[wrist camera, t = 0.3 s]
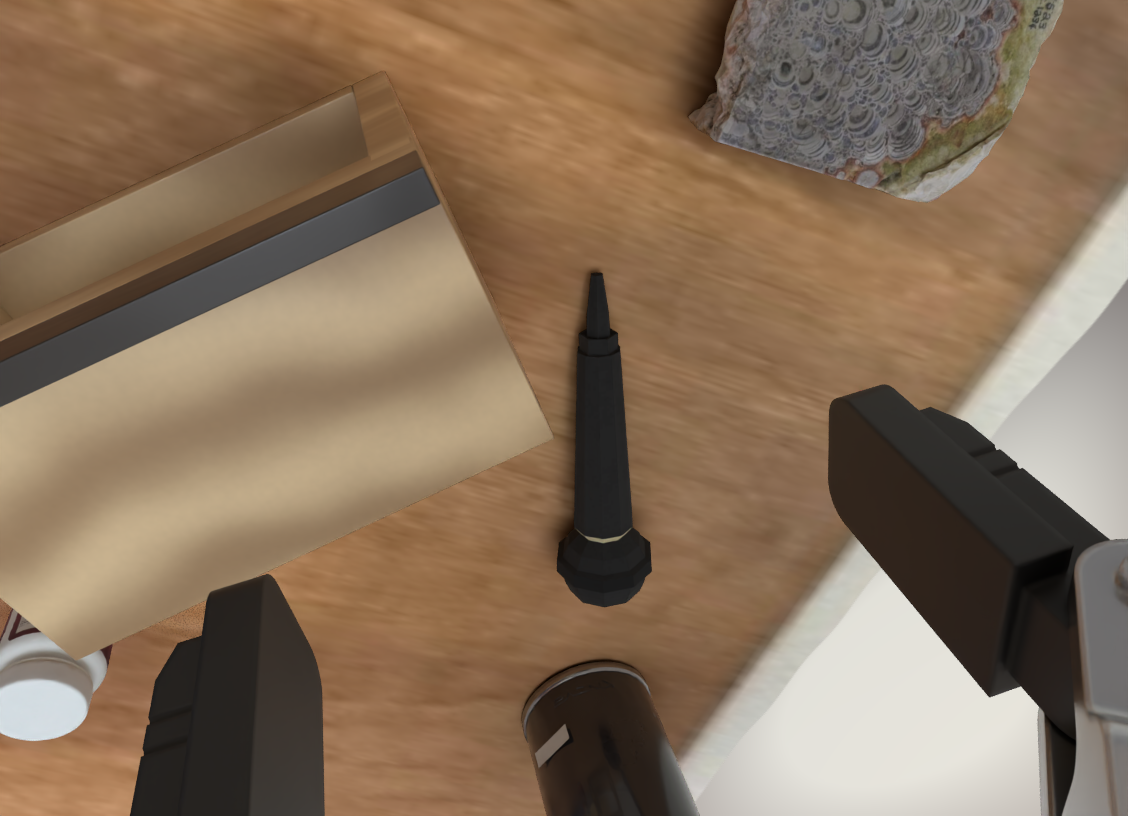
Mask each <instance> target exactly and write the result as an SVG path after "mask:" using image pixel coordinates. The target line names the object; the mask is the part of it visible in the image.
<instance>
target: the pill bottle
mask: <svg viewBox="0 0 1128 816" xmlns="http://www.w3.org/2000/svg"><path fill="white" fill-rule="evenodd" d="M112 645H113V644H111V645H109V646H107V647H105V648H103V649H100V650H98V651H96V652H94V653H92V654H90V655H88V656H85V657H83V658H81V659H79V660H74V659H73V658H72V657H71V656H70V655H68V654H67V653H66V652H65V651H64V650H62V649H61V648H60V647H59V646H58V645H56V644H55V643H54V642H53V641H52V640H50V639H49V638H48V637H47V636H46V635H44V634H43V633H42V632H41V631H39V630H38V629H37V628H36V627H35V626H33V625H32V624H31V623H30V622H29V621H27V620H26V619H25V618H24V617H23V616H21V615H20V614H19V613H18V612H17V611H15V610H14V609H13V608H12V610H11V612H10V615H9V617H8V620H7V622H6V625H5V628H4V630H3V633H2V635H1V638H0V733H2V734H4V735H6V736H9V737H12V738H16V739H21V740H28V741H38V740H48V739H53V738H57V737H60V736H63V735H65V734H67V733H69V732H71V731H73V730H74V729H76V728H77V727H78V726H79V725H80V724H81V723H82V722H83V721H84V719H85V717H86V715H87V713H88V709H89V705H90V702H91V699H92V695H93V692H94V691H96V689H97V688H98V687H99V686H100V685H101V683H102V681H103V679H104V678H105V676H106V673H107V668H108V664H109V659H110V655H111V649H112Z"/></svg>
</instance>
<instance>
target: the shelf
mask: <svg viewBox="0 0 1128 816" xmlns="http://www.w3.org/2000/svg"><path fill="white" fill-rule="evenodd" d="M553 438H554V436H553V433H552V431H551V429H550V426H549V424H548V422H547V420H546V417H545V415H544V413H543V411H542V408H541V406H540V404H539V402H538V399H537V397H536V395H535V393H534V390H533V388H532V386H531V383H530V381H529V379H528V377H527V374H526V372H525V370H524V368H523V365H522V363H521V361H520V358H519V356H518V354H517V352H516V349H515V347H514V345H513V343H512V340H511V338H510V336H509V334H508V331H507V329H506V327H505V324H504V322H503V320H502V318H501V315H500V313H499V311H498V309H497V306H496V304H495V302H494V300H493V298H492V296H491V294H490V291H489V289H488V287H487V285H486V283H485V281H484V279H483V277H482V275H481V272H480V270H479V268H478V266H477V264H476V262H475V260H474V258H473V256H472V253H471V251H470V249H469V247H468V245H467V243H466V241H465V239H464V237H463V235H462V232H461V230H460V228H459V226H458V224H457V222H456V220H455V218H454V216H453V213H452V211H451V209H450V207H449V205H448V203H447V201H446V199H445V197H444V194H443V192H442V190H441V188H440V186H439V184H438V182H437V180H436V178H435V175H434V173H433V171H432V169H431V167H430V165H429V163H428V161H427V159H426V157H425V154H424V152H423V150H422V148H421V146H420V144H419V142H418V140H417V138H416V135H415V133H414V131H413V129H412V127H411V125H410V123H409V121H408V119H407V116H406V114H405V112H404V110H403V108H402V106H401V104H400V102H399V100H398V98H397V95H396V93H395V91H394V89H393V87H392V85H391V83H390V81H389V79H388V76H387V74H386V72H385V71H381V72H379V73H377V74H375V75H373V76H370V77H368V78H366V79H364V80H362V81H360V82H357V83H355V84H353V85H352V86H348V87H346V88H344V89H342V90H340V91H337V92H335V93H333V94H331V95H329V96H327V97H324V98H322V99H320V100H318V101H316V102H314V103H311V104H309V105H307V106H305V107H303V108H300V109H298V110H296V111H294V112H292V113H290V114H287V115H285V116H283V117H281V118H279V119H277V120H274V121H272V122H270V123H268V124H266V125H264V126H261V127H259V128H257V129H255V130H253V131H250V132H248V133H246V134H244V135H242V136H240V137H237V138H235V139H233V140H231V141H229V142H227V143H224V144H222V145H220V146H218V147H216V148H213V149H211V150H209V151H207V152H205V153H203V154H200V155H198V156H196V157H194V158H192V159H190V160H187V161H185V162H183V163H181V164H179V165H176V166H174V167H172V168H170V169H168V170H166V171H163V172H161V173H159V174H157V175H155V176H153V177H150V178H148V179H146V180H144V181H142V182H139V183H137V184H135V185H133V186H131V187H129V188H126V189H124V190H122V191H120V192H118V193H116V194H113V195H111V196H109V197H107V198H105V199H103V200H100V201H98V202H96V203H94V204H92V205H89V206H87V207H85V208H83V209H81V210H79V211H76V212H74V213H72V214H70V215H68V216H66V217H63V218H61V219H59V220H57V221H55V222H52V223H50V224H48V225H46V226H44V227H42V228H39V229H37V230H35V231H33V232H31V233H29V234H26V235H24V236H22V237H20V238H18V239H15V240H13V241H11V242H9V243H7V244H5V245H2V246H0V598H1V599H2V600H3V601H5V602H6V603H7V604H8V605H9V606H11V607H12V608H13V609H14V610H15V611H17V612H18V613H19V614H20V615H21V616H23V617H24V618H25V619H26V620H27V621H29V622H30V623H31V624H32V625H33V626H35V627H36V628H37V629H38V630H39V631H41V632H42V633H43V634H44V635H46V636H47V637H48V638H49V639H50V640H52V641H53V642H54V643H55V644H56V645H58V646H59V647H60V648H61V649H62V650H64V651H65V652H66V653H67V654H68V655H70V656H71V657H72V658H73V659H74V660H79V659H81V658H83V657H85V656H88V655H90V654H92V653H94V652H96V651H98V650H100V649H103V648H105V647H107V646H109V645H111V644H113V643H116V642H118V641H120V640H122V639H124V638H126V637H128V636H131V635H133V634H135V633H137V632H139V631H141V630H143V629H146V628H148V627H150V626H152V625H154V624H156V623H158V622H161V621H163V620H165V619H167V618H169V617H171V616H173V615H176V614H178V613H180V612H182V611H184V610H186V609H189V608H191V607H193V606H195V605H197V604H199V603H201V602H204V601H206V600H207V597H208V595H209V593H210V592H211V591H213V590H217V589H220V588H223V587H226V586H230V585H233V584H236V583H239V582H243V581H246V580H249V579H253V578H255V577H257V576H259V575H262V574H264V573H266V572H268V571H270V570H272V569H274V568H277V567H279V566H281V565H283V564H285V563H287V562H289V561H292V560H294V559H296V558H298V557H300V556H302V555H304V554H307V553H309V552H311V551H313V550H315V549H317V548H320V547H322V546H324V545H326V544H328V543H330V542H332V541H335V540H337V539H339V538H341V537H343V536H345V535H347V534H350V533H352V532H354V531H356V530H358V529H360V528H362V527H365V526H367V525H369V524H371V523H373V522H375V521H377V520H380V519H382V518H384V517H386V516H388V515H390V514H393V513H395V512H397V511H399V510H401V509H403V508H405V507H408V506H410V505H412V504H414V503H416V502H418V501H420V500H423V499H425V498H427V497H429V496H431V495H433V494H435V493H438V492H440V491H442V490H444V489H446V488H448V487H451V486H453V485H455V484H457V483H459V482H461V481H463V480H466V479H468V478H470V477H472V476H474V475H476V474H478V473H481V472H483V471H485V470H487V469H489V468H491V467H493V466H496V465H498V464H500V463H502V462H504V461H506V460H508V459H511V458H513V457H515V456H517V455H519V454H521V453H524V452H526V451H528V450H530V449H532V448H534V447H536V446H539V445H541V444H543V443H545V442H547V441H549V440H551V439H553Z"/></svg>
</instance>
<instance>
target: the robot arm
mask: <svg viewBox="0 0 1128 816" xmlns="http://www.w3.org/2000/svg"><path fill="white" fill-rule="evenodd" d="M828 484H829V490H830V494H831V498H832V501H833V504H834V506H835V508H836V510H837V512H838V514H839V516H840V518H841V519H842V521H843V522H844V523H845V525H846V526H847V527H848V528H849V529H850V531H851V532H852V533H853V534H854V535H855V537H856V538H857V539H858V540H859V541H860V543H861V544H862V545H863V546H864V547H865V549H866V550H867V551H868V552H869V553H870V555H871V556H872V557H873V558H874V559H875V561H876V562H877V563H878V564H879V565H880V567H881V568H882V569H883V570H884V571H885V573H886V574H887V575H888V576H889V577H890V579H891V580H892V581H893V582H894V584H895V585H896V586H897V587H898V588H899V590H900V591H901V592H902V593H903V594H904V595H905V597H906V598H907V599H908V600H909V601H910V603H911V604H912V605H913V606H914V608H915V609H916V610H917V611H918V612H919V614H920V615H921V616H922V617H923V618H924V620H925V621H926V622H927V623H928V624H929V626H930V627H931V628H932V629H933V630H934V632H935V633H936V634H937V635H938V636H939V638H940V639H941V640H942V641H943V642H944V643H945V645H946V646H947V647H948V648H949V649H950V651H951V652H952V653H953V654H954V656H955V657H956V658H957V659H958V660H959V662H960V663H961V664H962V665H963V666H964V668H965V669H966V670H967V671H968V672H969V674H970V675H971V676H972V677H973V678H974V680H975V681H976V682H977V683H978V684H979V686H980V687H981V688H982V689H983V690H984V692H985V693H986V694H987V695H988V696H989V697H992V696H995V695H998V694H1001V693H1003V692H1006V691H1009V690H1012V689H1014V688H1017V687H1020V686H1021V687H1022V688H1023V689H1024V690H1025V691H1026V693H1027V694H1028V695H1029V696H1030V697H1031V698H1032V699H1033V700H1034V702H1035V703H1036V704H1037V705H1038V706H1039V710H1038V745H1039V771H1040V772H1039V773H1040V797H1041V798H1040V800H1041V816H1128V539H1115V540H1110V539H1108V538H1107V537H1106V536H1104V535H1103V534H1102V533H1101V532H1100V531H1098V530H1097V529H1096V528H1095V527H1093V526H1092V525H1091V524H1090V523H1089V522H1087V521H1086V520H1085V519H1084V518H1083V517H1081V516H1080V515H1079V514H1078V513H1076V512H1075V511H1074V510H1073V509H1072V508H1071V507H1069V506H1068V505H1067V504H1066V503H1064V502H1063V501H1062V500H1061V499H1060V498H1058V497H1057V496H1056V495H1055V494H1053V493H1052V492H1051V491H1050V490H1049V489H1048V488H1046V487H1045V486H1044V485H1043V484H1041V483H1040V482H1039V481H1038V480H1036V479H1035V478H1034V477H1033V476H1032V475H1030V474H1029V473H1028V472H1027V471H1026V470H1025V469H1023V468H1021V469H1019V468H1018V466H1017V463H1016V462H1015V461H1013V460H1012V459H1011V458H1010V457H1009V456H1007V455H1006V454H1005V453H1004V452H1003V451H1001V450H1000V449H999V450H996V448H995V445H994V444H993V443H992V442H991V441H989V440H988V439H987V438H986V437H985V436H983V435H982V434H981V433H980V432H978V431H977V430H976V429H975V428H974V427H972V426H971V425H970V424H969V423H968V422H965V421H963V420H960V419H958V418H956V417H953V416H951V415H949V414H946V413H944V412H941V411H939V410H937V409H934V408H932V407H929V408H926V409H923V410H920V411H919V410H918V409H917V408H915V407H914V406H913V405H912V404H911V403H910V402H909V401H907V400H906V399H905V398H904V397H903V396H902V395H901V394H899V393H898V392H897V391H896V390H895V389H893V388H892V387H891V386H888V385H885V384H884V385H879V386H876V387H872V388H869V389H866V390H862V391H859V392H856V393H853V394H849V395H846V396H843V397H840V398H836V399H834V400H833V401H832V403H831V405H830V409H829V455H828ZM148 718H149V720H150V725H147V728H146V733H145V739H144V744H143V751H144V756H142V757H141V760H140V765H139V771H138V776H137V781H136V786H135V792H134V797H133V802H132V808H131V813H130V816H325V812H324V761H323V709H322V686H321V679H320V674H319V670H318V666H317V662H316V659H315V656H314V654H313V651H312V649H311V647H310V645H309V643H308V641H307V639H306V637H305V635H304V633H303V631H302V629H301V627H300V626H299V624H298V622H297V620H296V618H295V616H294V614H293V612H292V610H291V609H290V607H289V605H288V603H287V601H286V599H285V597H284V595H283V593H282V591H281V590H280V588H279V586H278V584H277V582H276V581H275V579H274V578H273V577H272V576H271V575H269V574H266V575H262V576H259V577H256V578H253V579H249V580H246V581H243V582H239V583H236V584H233V585H230V586H226V587H223V588H220V589H217V590H213V591H211V592H210V593H209V595H208V597H207V602H206V609H205V616H204V623H203V631H202V636H199V637H196V638H193V639H190V640H186V641H183V642H180V643H178V644H177V646H176V647H175V649H174V651H173V652H172V654H171V655H170V657H169V659H168V660H167V662H166V664H165V665H164V667H163V669H162V670H161V672H160V674H159V675H158V677H157V679H156V680H155V685H154V691H153V696H152V701H151V707H150V712H149V717H148ZM522 727H523V731H524V735H525V738H526V740H527V742H528V744H529V748H530V752H531V756H532V760H533V764H534V768H535V772H536V776H537V780H538V784H539V788H540V792H541V796H542V800H543V804H544V808H545V811H546V815H547V816H700V815H699V812H698V810H697V807H696V805H695V803H694V800H693V798H692V795H691V793H690V791H689V788H688V786H687V783H686V781H685V779H684V776H683V774H682V771H681V769H680V767H679V764H678V762H677V759H676V757H675V755H674V752H673V750H672V747H671V745H670V743H669V740H668V738H667V735H666V733H665V731H664V728H663V725H662V723H661V721H660V718H659V716H658V713H657V711H656V709H655V706H654V704H653V701H652V699H651V695H650V691H649V688H648V686H647V684H646V681H645V679H644V678H643V676H642V675H641V674H640V673H639V672H638V671H637V670H635V669H634V668H632V667H630V666H628V665H625V664H621V663H616V662H593V663H587V664H583V665H579V666H576V667H573V668H571V669H568V670H566V671H564V672H561V673H560V674H558V675H556V676H554V677H553V678H551V679H549V680H548V681H547V682H545V683H544V684H543V685H542V686H540V687H539V688H538V689H537V690H536V691H535V692H534V694H533V695H532V696H531V697H530V699H529V700H528V702H527V704H526V706H525V708H524V711H523V714H522Z"/></svg>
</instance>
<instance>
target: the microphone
mask: <svg viewBox="0 0 1128 816" xmlns="http://www.w3.org/2000/svg"><path fill="white" fill-rule="evenodd" d="M574 528H575V529H573V530H572V531H571V532H569V534H568V536H567V537H566V538H564V539H563V540H562V541H560V542H559V548H558V557H557V572H558V573H559V574H560V575H561V576H562V577H564V579H565V582H566V584H567V585H568V587H569V589H570V590H571V592H572V593H574V594H575V595H576V596H577V597H578V598H579V599H580V600H581V601H582V602H583V603H587V604H592V605H597V606H601V607H608V606H613V605H618V604H623V603H626V602H628V601H629V600H630V599H631V598H632V597H633V596H634V595H635V594H637V593H638V592H639V591H640V589H641V587H642V585H643V583H644V580H645V577H646V576H647V575H648V574H650V573H651V572H652V567H651V549H650V542H649V541H648V540H647V539H645V538H644V537H643V536H641V535H640V533H639V532H638V531H637V530H635V529H634V528H633V523H632V505H631V492H630V478H629V464H628V450H627V437H626V423H625V409H624V396H623V382H622V368H621V355H620V346H619V345H618V333H617V332H615V331H614V330H612V329H611V328H610V324H609V311H608V305H607V298H606V292H605V286H604V280H603V274H602V273H591V281H590V291H589V300H588V310H587V329H586V330H584V331H582V332H581V333H579V347H578V351H577V399H576V451H575V503H574Z"/></svg>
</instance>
